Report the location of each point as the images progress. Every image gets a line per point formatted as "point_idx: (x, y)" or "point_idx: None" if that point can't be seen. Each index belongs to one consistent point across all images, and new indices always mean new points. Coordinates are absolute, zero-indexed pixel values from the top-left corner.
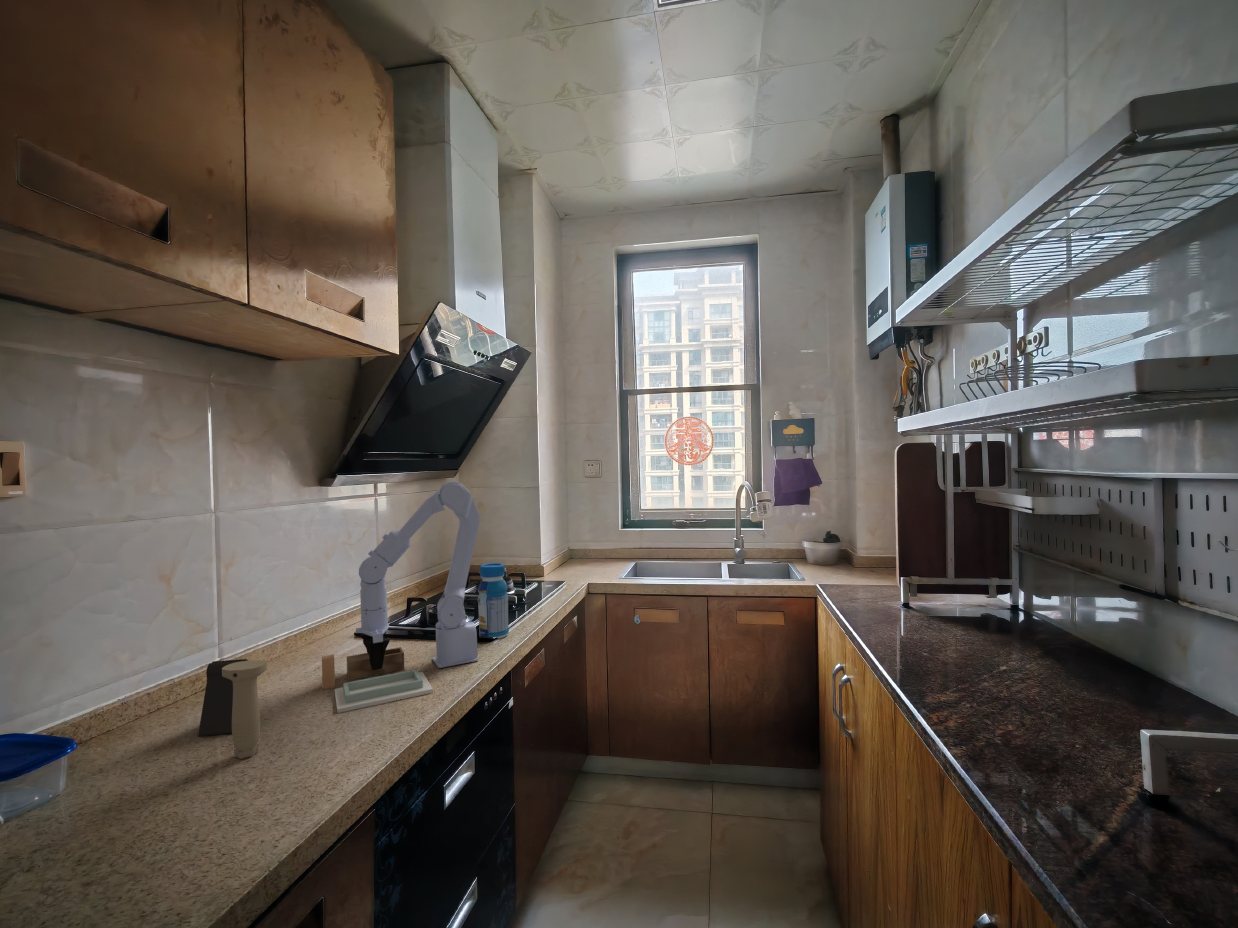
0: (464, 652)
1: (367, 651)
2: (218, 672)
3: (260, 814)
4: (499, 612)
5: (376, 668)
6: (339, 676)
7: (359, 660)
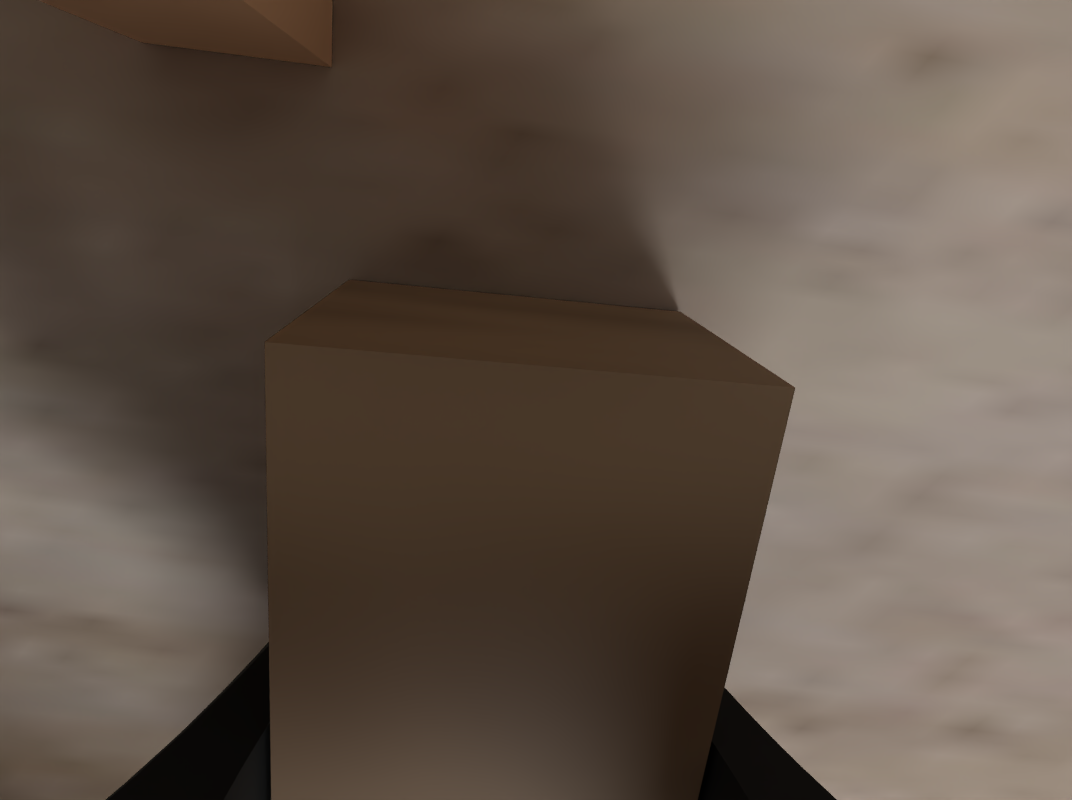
0: None
1: (724, 773)
2: None
3: None
4: None
5: None
6: (628, 194)
7: (279, 572)
